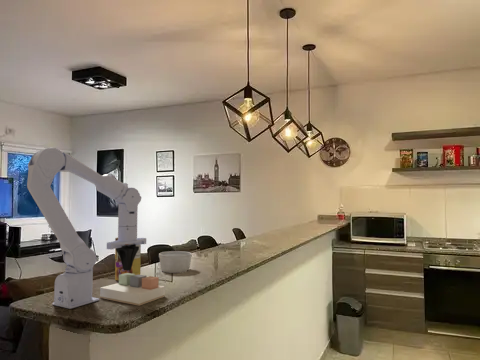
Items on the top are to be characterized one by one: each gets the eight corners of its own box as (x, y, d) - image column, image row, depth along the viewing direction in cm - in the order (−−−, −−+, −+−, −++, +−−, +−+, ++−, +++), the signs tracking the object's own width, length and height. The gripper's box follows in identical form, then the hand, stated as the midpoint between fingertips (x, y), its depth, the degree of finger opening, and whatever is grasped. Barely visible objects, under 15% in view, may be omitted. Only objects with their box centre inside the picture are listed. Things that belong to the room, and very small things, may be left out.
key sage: (126, 287, 110) (126, 276, 110) (118, 286, 112) (118, 274, 112) (134, 285, 113) (135, 274, 113) (126, 283, 115) (127, 272, 115)
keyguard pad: (139, 305, 100) (139, 294, 100) (100, 297, 107) (100, 287, 107) (164, 296, 109) (164, 286, 109) (126, 290, 116) (127, 280, 116)
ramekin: (194, 267, 154) (195, 251, 154) (187, 274, 141) (187, 256, 141) (164, 267, 155) (164, 250, 155) (154, 273, 142) (154, 255, 142)
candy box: (113, 280, 129) (114, 237, 130) (123, 278, 133) (123, 236, 134) (131, 283, 125) (132, 239, 126) (141, 281, 129) (141, 237, 129)
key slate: (138, 289, 108) (138, 277, 108) (129, 287, 109) (130, 276, 109) (146, 286, 111) (146, 275, 111) (138, 285, 112) (138, 274, 112)
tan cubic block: (150, 291, 105) (150, 279, 105) (141, 290, 107) (141, 278, 107) (158, 288, 108) (158, 277, 108) (149, 287, 110) (150, 276, 110)
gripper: (118, 228, 105) (118, 275, 104) (153, 224, 118) (153, 267, 117) (102, 227, 108) (101, 273, 108) (137, 224, 121) (136, 265, 120)
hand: (127, 270), depth 113 cm, fingers closed
